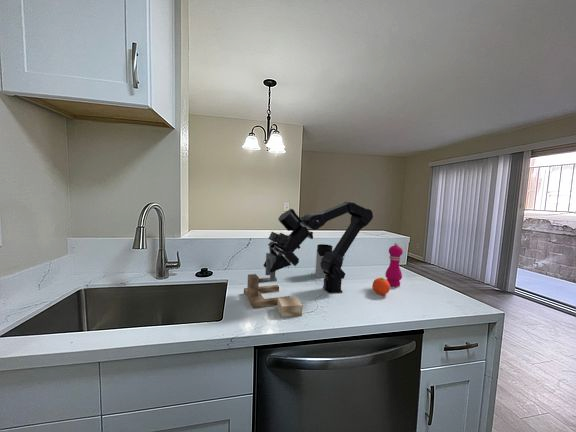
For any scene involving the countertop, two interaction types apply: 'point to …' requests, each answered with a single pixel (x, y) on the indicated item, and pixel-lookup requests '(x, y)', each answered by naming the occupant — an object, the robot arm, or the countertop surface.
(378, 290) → the clementine
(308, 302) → the countertop surface
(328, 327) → the countertop surface
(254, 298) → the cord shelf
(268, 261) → the gray arch
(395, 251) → the pepper mill
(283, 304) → the oak block
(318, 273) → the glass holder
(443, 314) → the countertop surface
